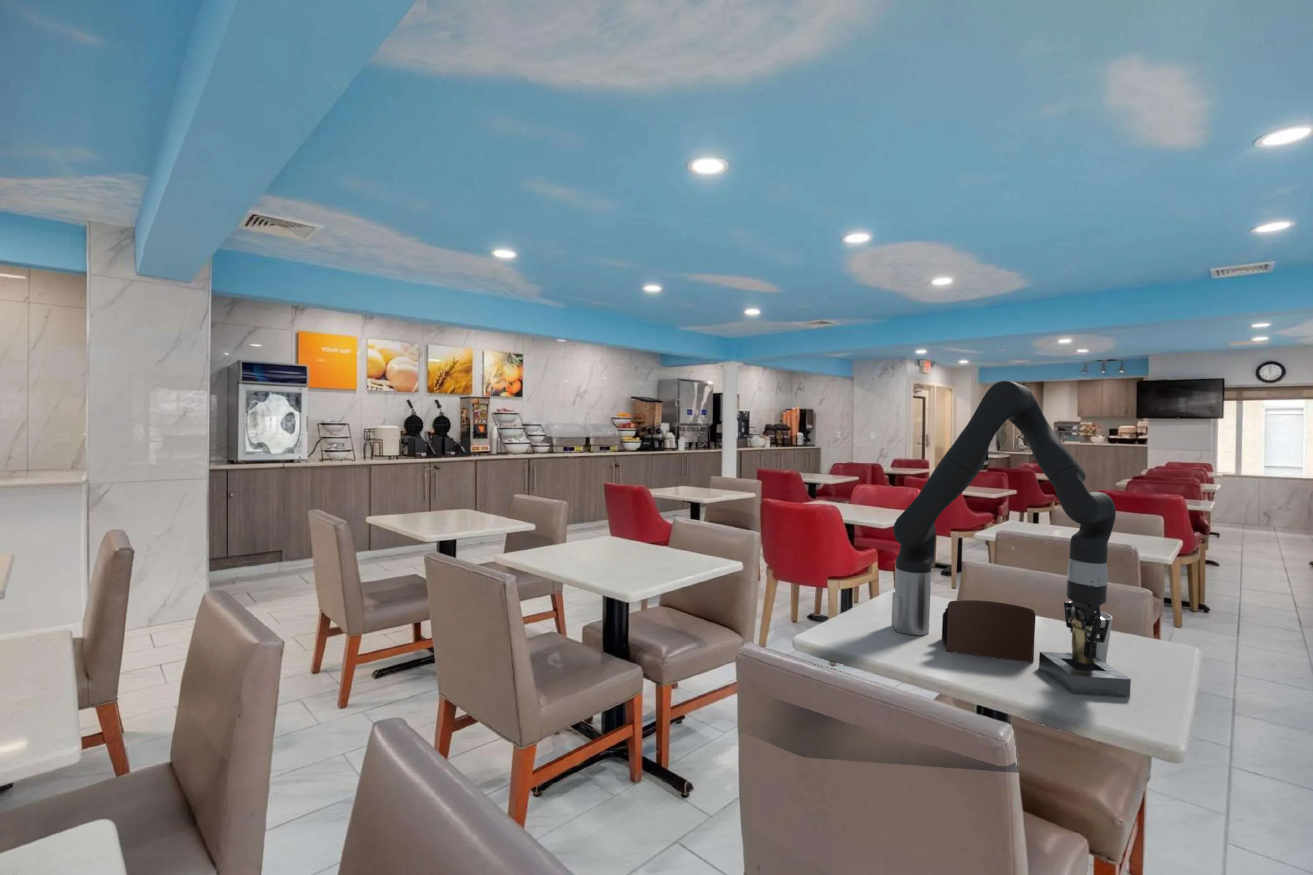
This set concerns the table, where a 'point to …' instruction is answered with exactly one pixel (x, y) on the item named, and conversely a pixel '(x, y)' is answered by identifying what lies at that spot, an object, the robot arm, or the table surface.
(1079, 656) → the fitting
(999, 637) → the letter holder
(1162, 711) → the table surface
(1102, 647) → the cup
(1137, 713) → the table surface
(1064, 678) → the grey hollow block
